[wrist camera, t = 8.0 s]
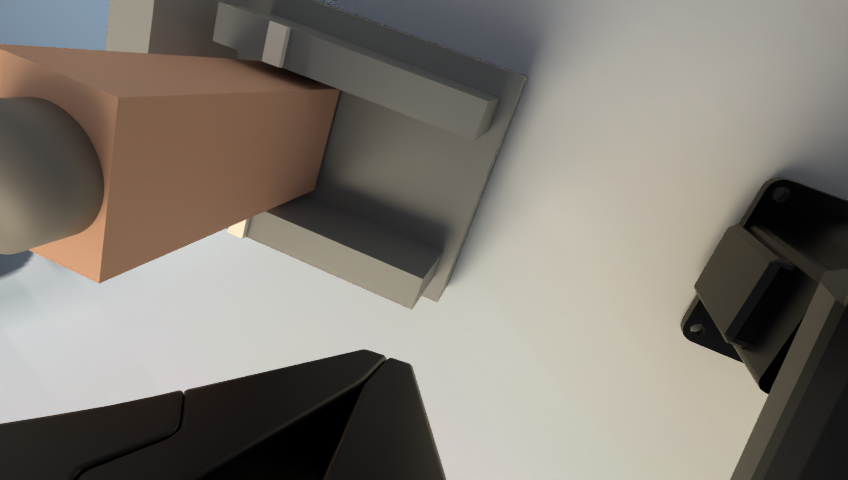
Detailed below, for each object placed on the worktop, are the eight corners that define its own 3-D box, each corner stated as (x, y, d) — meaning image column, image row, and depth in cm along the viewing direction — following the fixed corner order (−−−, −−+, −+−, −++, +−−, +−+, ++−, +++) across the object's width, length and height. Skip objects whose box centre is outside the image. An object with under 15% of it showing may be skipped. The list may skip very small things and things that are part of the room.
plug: (340, 88, 19) (58, 99, 8) (314, 190, 20) (45, 306, 10) (267, 60, 19) (-87, 38, 9) (247, 162, 21) (-79, 245, 10)
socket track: (528, 77, 19) (511, 75, 13) (445, 288, 22) (404, 358, 16) (239, -27, 20) (115, -68, 15) (202, 184, 23) (90, 216, 18)
